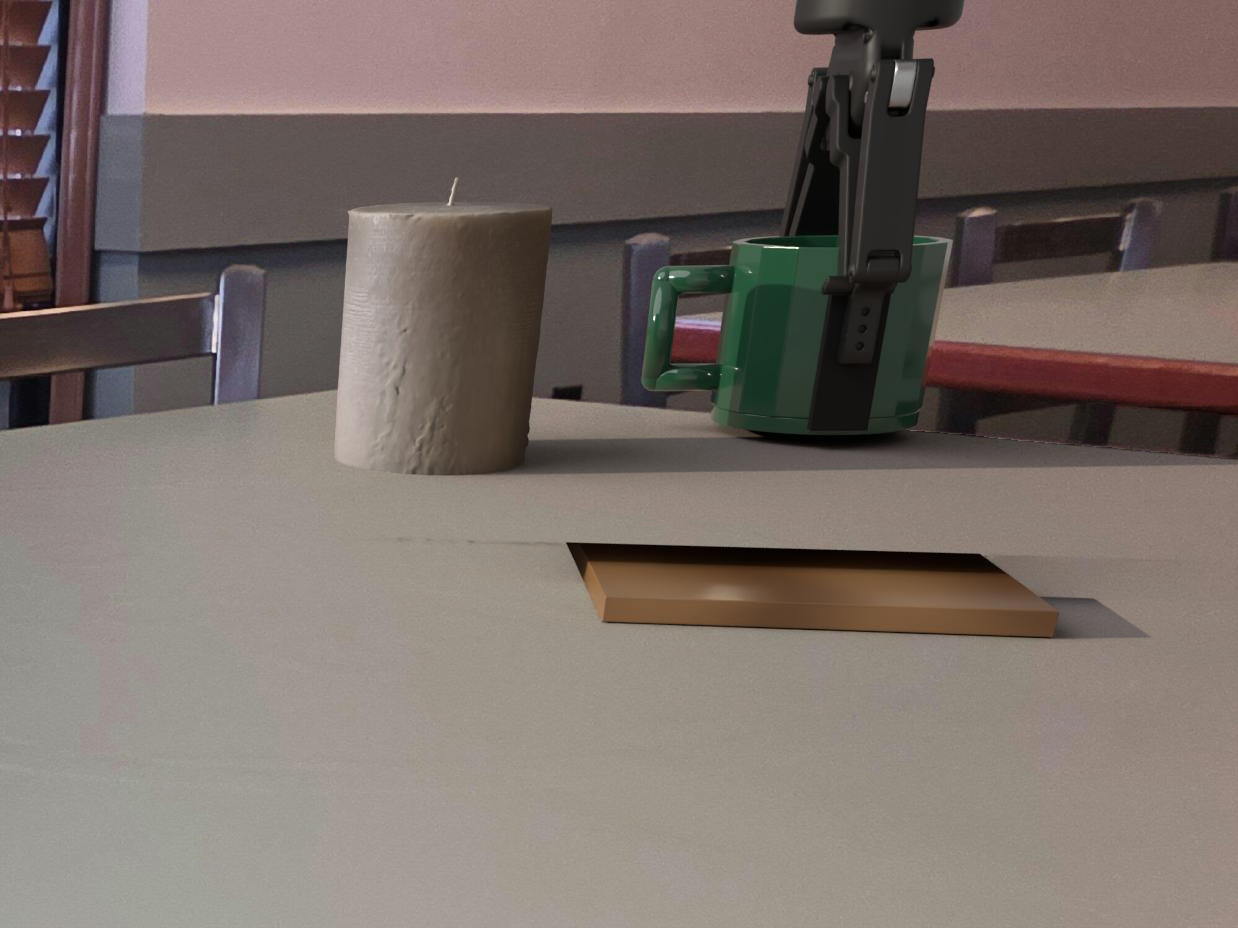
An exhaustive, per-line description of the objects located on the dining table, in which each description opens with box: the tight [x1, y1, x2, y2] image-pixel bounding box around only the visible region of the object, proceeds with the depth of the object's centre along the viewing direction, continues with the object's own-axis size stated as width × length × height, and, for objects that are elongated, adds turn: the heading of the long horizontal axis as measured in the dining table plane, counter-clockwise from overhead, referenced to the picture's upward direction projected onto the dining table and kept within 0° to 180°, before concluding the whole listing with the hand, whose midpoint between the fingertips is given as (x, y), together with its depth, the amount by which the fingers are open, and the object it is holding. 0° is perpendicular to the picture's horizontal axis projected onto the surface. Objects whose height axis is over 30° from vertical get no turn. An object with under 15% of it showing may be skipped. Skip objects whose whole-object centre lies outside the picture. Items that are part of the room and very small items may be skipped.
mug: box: [640, 235, 954, 436], centre depth 92 cm, size 14×10×9 cm
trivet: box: [565, 541, 1060, 638], centre depth 72 cm, size 16×16×1 cm
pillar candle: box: [333, 177, 553, 476], centre depth 86 cm, size 10×10×15 cm
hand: (812, 413), depth 93 cm, fingers closed on mug, 10 cm apart
